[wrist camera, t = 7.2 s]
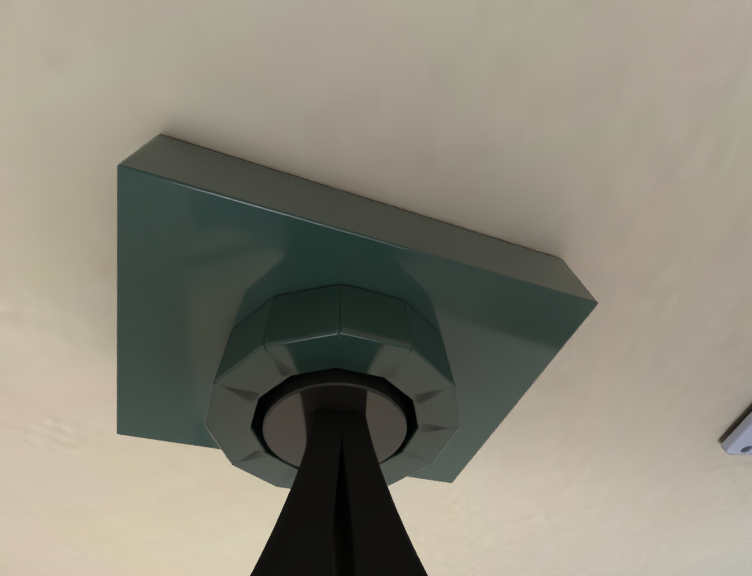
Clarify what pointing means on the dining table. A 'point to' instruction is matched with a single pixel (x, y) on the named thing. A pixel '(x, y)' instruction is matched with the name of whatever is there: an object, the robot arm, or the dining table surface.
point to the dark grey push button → (338, 392)
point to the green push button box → (318, 309)
